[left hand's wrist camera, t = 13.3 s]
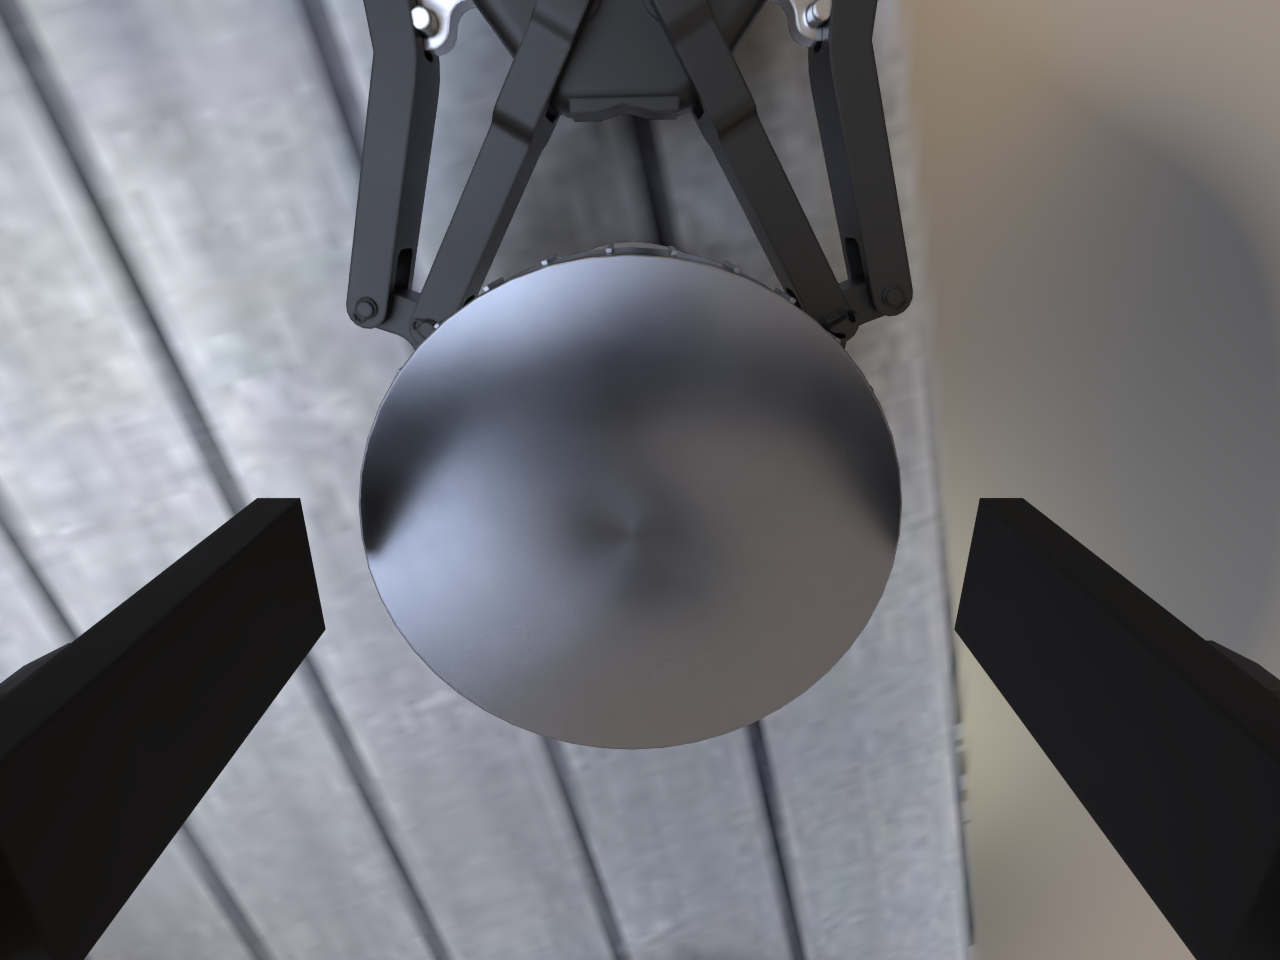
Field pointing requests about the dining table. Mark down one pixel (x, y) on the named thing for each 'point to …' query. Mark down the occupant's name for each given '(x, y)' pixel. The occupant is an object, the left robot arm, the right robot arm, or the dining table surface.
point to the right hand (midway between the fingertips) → (636, 520)
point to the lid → (630, 499)
